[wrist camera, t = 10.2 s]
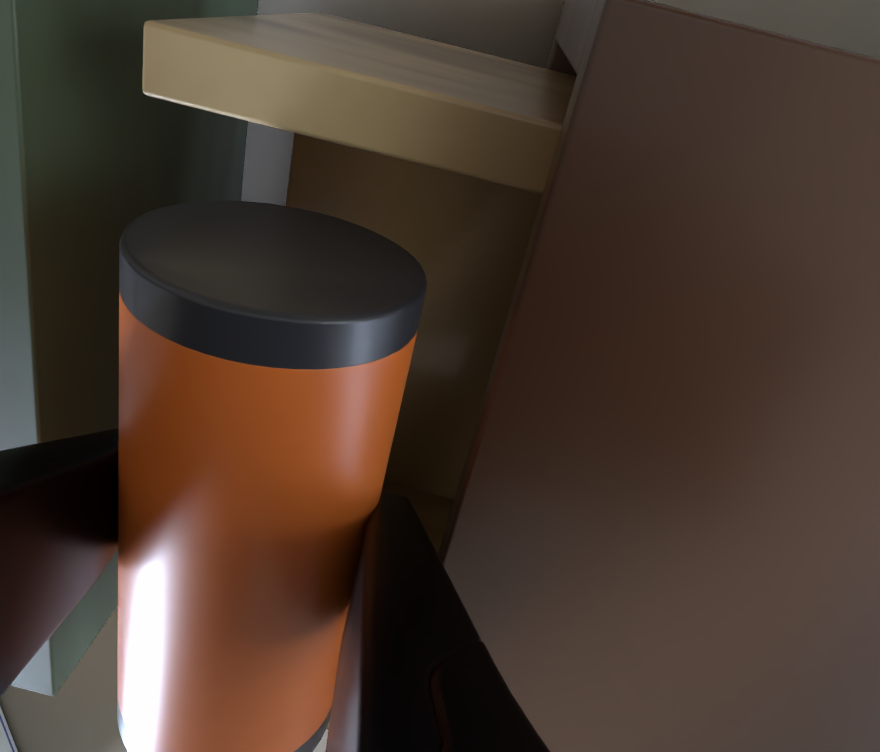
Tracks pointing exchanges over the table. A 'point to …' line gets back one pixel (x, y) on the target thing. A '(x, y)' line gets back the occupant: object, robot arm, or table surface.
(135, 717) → the tube
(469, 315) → the drawer
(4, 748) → the medicine box
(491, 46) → the table surface
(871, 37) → the table surface
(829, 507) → the cabinet
